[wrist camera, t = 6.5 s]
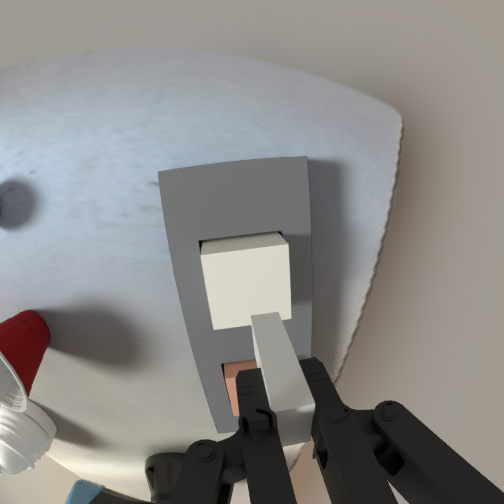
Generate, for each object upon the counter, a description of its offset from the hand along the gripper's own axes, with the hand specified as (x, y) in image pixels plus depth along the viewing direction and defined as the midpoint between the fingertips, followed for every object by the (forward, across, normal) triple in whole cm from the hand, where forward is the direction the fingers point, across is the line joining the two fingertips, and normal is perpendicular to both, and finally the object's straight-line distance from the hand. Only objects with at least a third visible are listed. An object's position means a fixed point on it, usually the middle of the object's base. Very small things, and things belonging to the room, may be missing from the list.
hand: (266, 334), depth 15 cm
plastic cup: (+14, +30, +7) cm, 34 cm away
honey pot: (+14, +47, +29) cm, 57 cm away
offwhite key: (+10, 0, 0) cm, 10 cm away
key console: (+14, 0, +7) cm, 16 cm away
